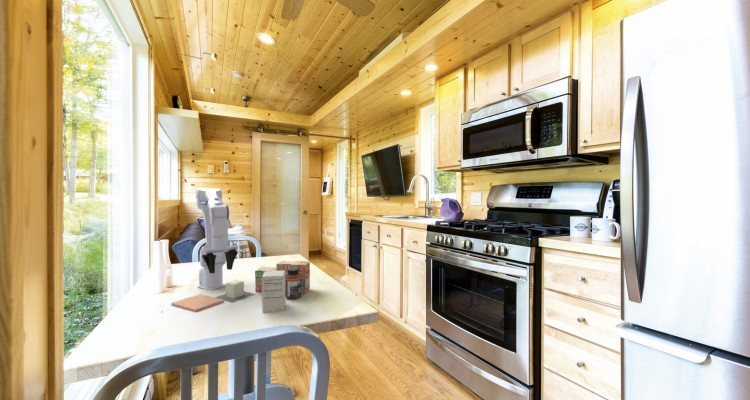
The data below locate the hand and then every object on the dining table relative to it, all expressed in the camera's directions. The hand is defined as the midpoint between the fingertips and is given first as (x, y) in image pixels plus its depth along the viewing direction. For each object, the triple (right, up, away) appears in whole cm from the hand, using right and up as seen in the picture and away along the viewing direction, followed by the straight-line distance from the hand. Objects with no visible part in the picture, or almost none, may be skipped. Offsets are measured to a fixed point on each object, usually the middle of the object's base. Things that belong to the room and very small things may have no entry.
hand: (221, 271), depth 121 cm
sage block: (+4, -10, +3) cm, 12 cm away
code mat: (+4, -11, +3) cm, 12 cm away
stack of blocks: (+21, -11, +10) cm, 26 cm away
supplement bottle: (+28, -11, +2) cm, 30 cm away
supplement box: (+24, -11, -10) cm, 28 cm away
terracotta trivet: (-6, -11, -6) cm, 13 cm away
